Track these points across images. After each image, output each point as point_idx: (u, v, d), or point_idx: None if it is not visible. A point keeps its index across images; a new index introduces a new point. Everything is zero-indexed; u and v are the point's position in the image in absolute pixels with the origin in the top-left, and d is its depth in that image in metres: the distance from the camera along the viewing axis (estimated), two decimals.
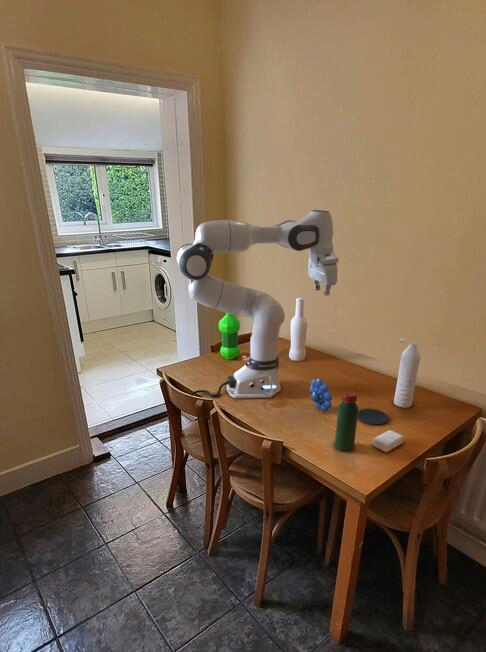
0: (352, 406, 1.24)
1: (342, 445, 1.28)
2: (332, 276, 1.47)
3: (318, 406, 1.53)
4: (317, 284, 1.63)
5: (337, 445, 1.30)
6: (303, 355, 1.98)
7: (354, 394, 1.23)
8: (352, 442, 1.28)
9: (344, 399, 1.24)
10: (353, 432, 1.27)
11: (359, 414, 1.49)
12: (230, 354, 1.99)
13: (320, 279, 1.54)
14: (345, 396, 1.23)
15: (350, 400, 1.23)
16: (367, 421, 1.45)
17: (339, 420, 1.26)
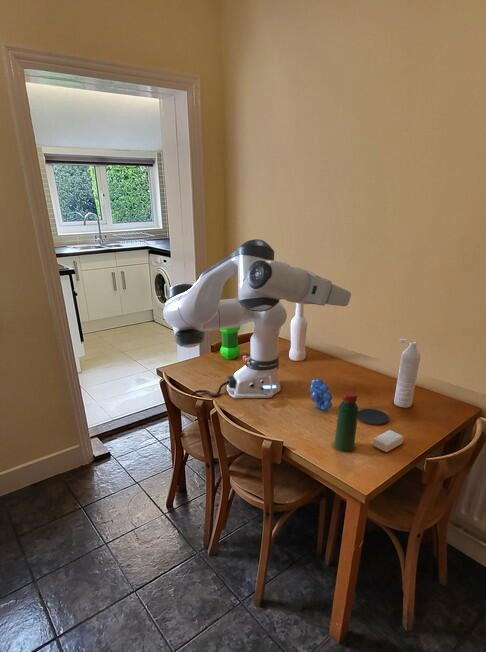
0: (352, 406, 1.24)
1: (342, 445, 1.28)
2: (343, 297, 1.05)
3: (318, 406, 1.53)
4: None
5: (337, 445, 1.30)
6: (303, 355, 1.98)
7: (354, 394, 1.23)
8: (352, 442, 1.28)
9: (344, 399, 1.24)
10: (353, 432, 1.27)
11: (359, 414, 1.49)
12: (230, 354, 1.99)
13: None
14: (345, 396, 1.23)
15: (350, 400, 1.23)
16: (367, 421, 1.45)
17: (339, 420, 1.26)
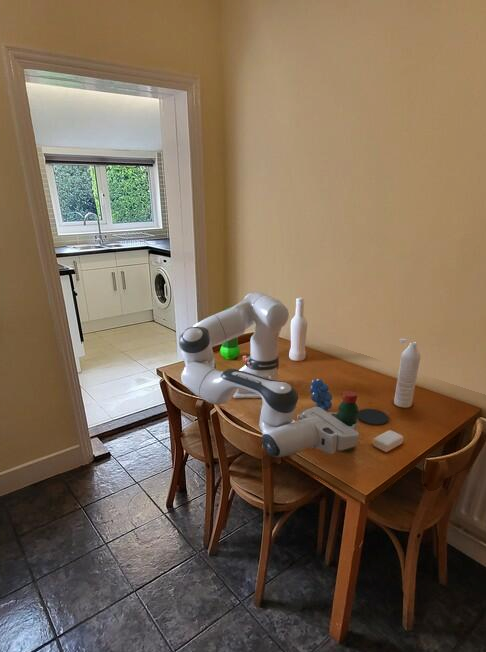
0: (352, 406, 1.24)
1: None
2: (351, 441, 1.17)
3: (318, 406, 1.53)
4: (335, 415, 1.30)
5: None
6: (303, 355, 1.98)
7: (354, 394, 1.23)
8: None
9: (344, 399, 1.24)
10: None
11: (359, 414, 1.49)
12: (230, 354, 1.99)
13: None
14: (345, 396, 1.23)
15: (350, 399, 1.23)
16: (367, 421, 1.45)
17: None
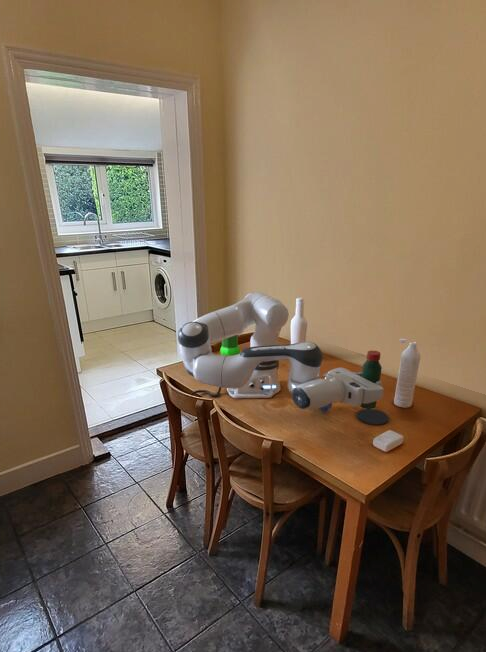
0: (376, 364, 1.31)
1: None
2: (376, 395, 1.25)
3: None
4: (359, 375, 1.38)
5: None
6: None
7: (378, 353, 1.31)
8: None
9: (368, 358, 1.32)
10: None
11: (359, 414, 1.49)
12: (230, 354, 1.99)
13: None
14: (369, 355, 1.31)
15: (374, 358, 1.30)
16: (367, 421, 1.45)
17: None
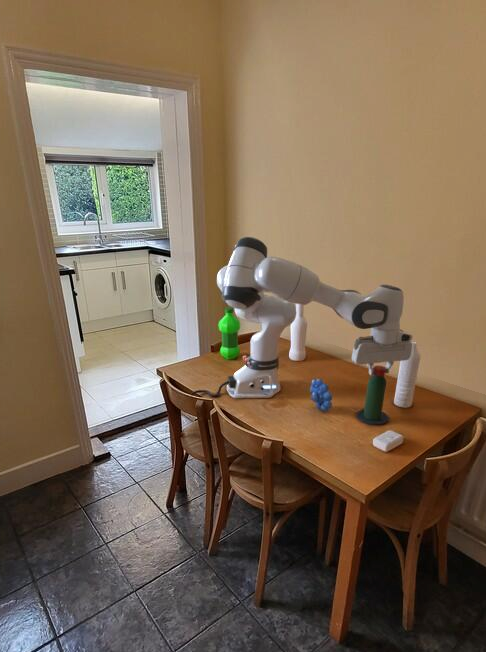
0: (381, 379, 1.40)
1: (371, 414, 1.45)
2: None
3: (318, 406, 1.53)
4: None
5: (366, 414, 1.46)
6: (303, 355, 1.98)
7: (383, 368, 1.39)
8: (380, 412, 1.45)
9: None
10: (381, 402, 1.43)
11: (359, 414, 1.49)
12: (230, 354, 1.99)
13: (392, 358, 1.38)
14: (375, 370, 1.39)
15: (379, 373, 1.39)
16: (367, 421, 1.45)
17: (369, 392, 1.43)
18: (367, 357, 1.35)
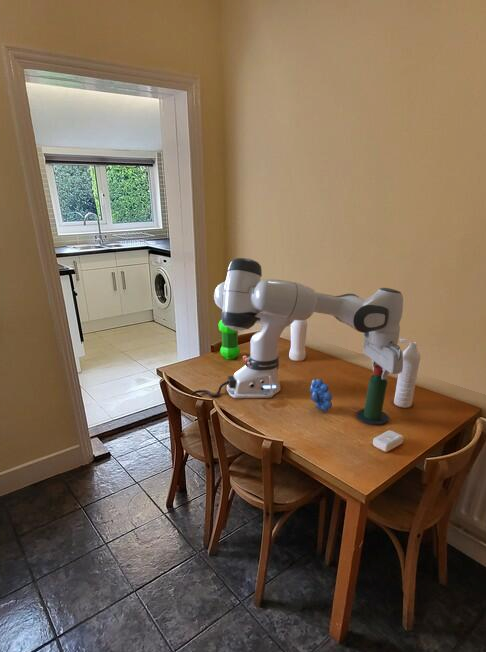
0: (382, 379, 1.40)
1: (371, 414, 1.45)
2: None
3: (318, 406, 1.53)
4: None
5: (366, 414, 1.46)
6: (303, 355, 1.98)
7: None
8: (380, 412, 1.45)
9: None
10: (381, 402, 1.43)
11: (359, 414, 1.49)
12: (230, 354, 1.99)
13: None
14: None
15: None
16: (367, 421, 1.45)
17: (369, 391, 1.43)
18: None
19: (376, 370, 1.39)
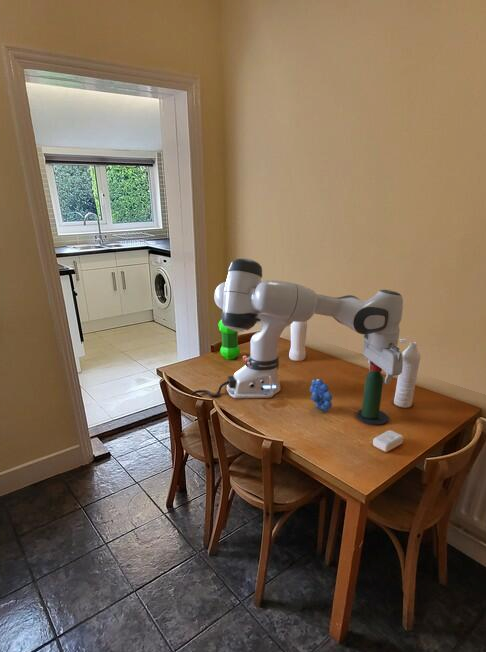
0: (378, 375, 1.42)
1: (368, 412, 1.45)
2: None
3: (318, 406, 1.53)
4: None
5: (364, 413, 1.46)
6: (303, 355, 1.98)
7: None
8: (377, 410, 1.45)
9: (379, 369, 1.41)
10: (378, 400, 1.44)
11: (359, 414, 1.49)
12: (230, 354, 1.99)
13: None
14: None
15: None
16: (367, 421, 1.45)
17: (366, 388, 1.44)
18: None
19: (372, 366, 1.41)
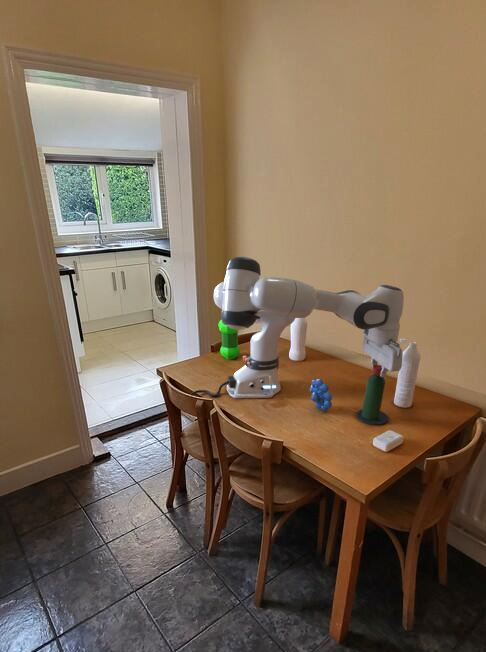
0: (380, 378, 1.40)
1: (369, 414, 1.45)
2: None
3: (318, 406, 1.53)
4: None
5: (364, 414, 1.46)
6: (303, 355, 1.98)
7: (375, 366, 1.41)
8: (378, 412, 1.45)
9: None
10: (379, 402, 1.43)
11: (359, 414, 1.49)
12: (230, 354, 1.99)
13: None
14: None
15: None
16: (367, 421, 1.45)
17: (368, 391, 1.42)
18: None
19: None
